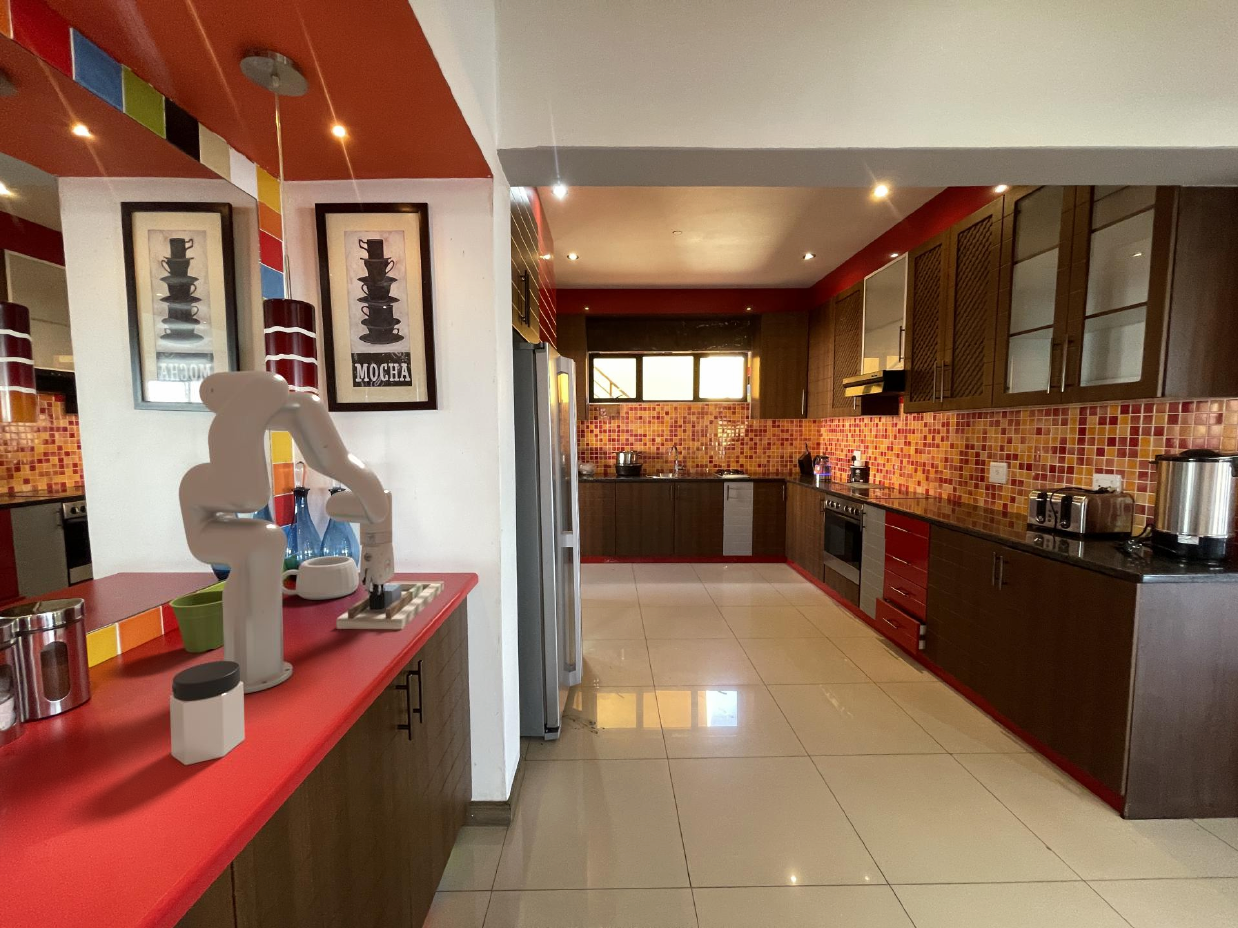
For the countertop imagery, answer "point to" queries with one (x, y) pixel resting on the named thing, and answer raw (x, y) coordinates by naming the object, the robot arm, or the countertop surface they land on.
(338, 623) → the tunnel board
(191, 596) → the plant pot
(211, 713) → the jar
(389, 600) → the slate block
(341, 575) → the mug
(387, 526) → the robot arm
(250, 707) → the countertop surface
